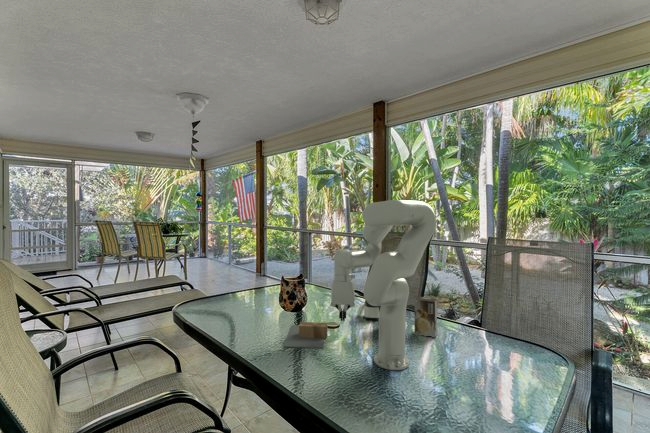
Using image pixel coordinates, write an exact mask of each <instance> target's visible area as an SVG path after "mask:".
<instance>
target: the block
mask: <svg viewBox="0 0 650 433" xmlns="http://www.w3.org/2000/svg"><path fill="white" fill-rule="evenodd" d="M299 337H302V338H324V339H328V322H320V321H319V322H316V321H315V322H314V321H313V322H312V321H300V323H299Z"/></svg>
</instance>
